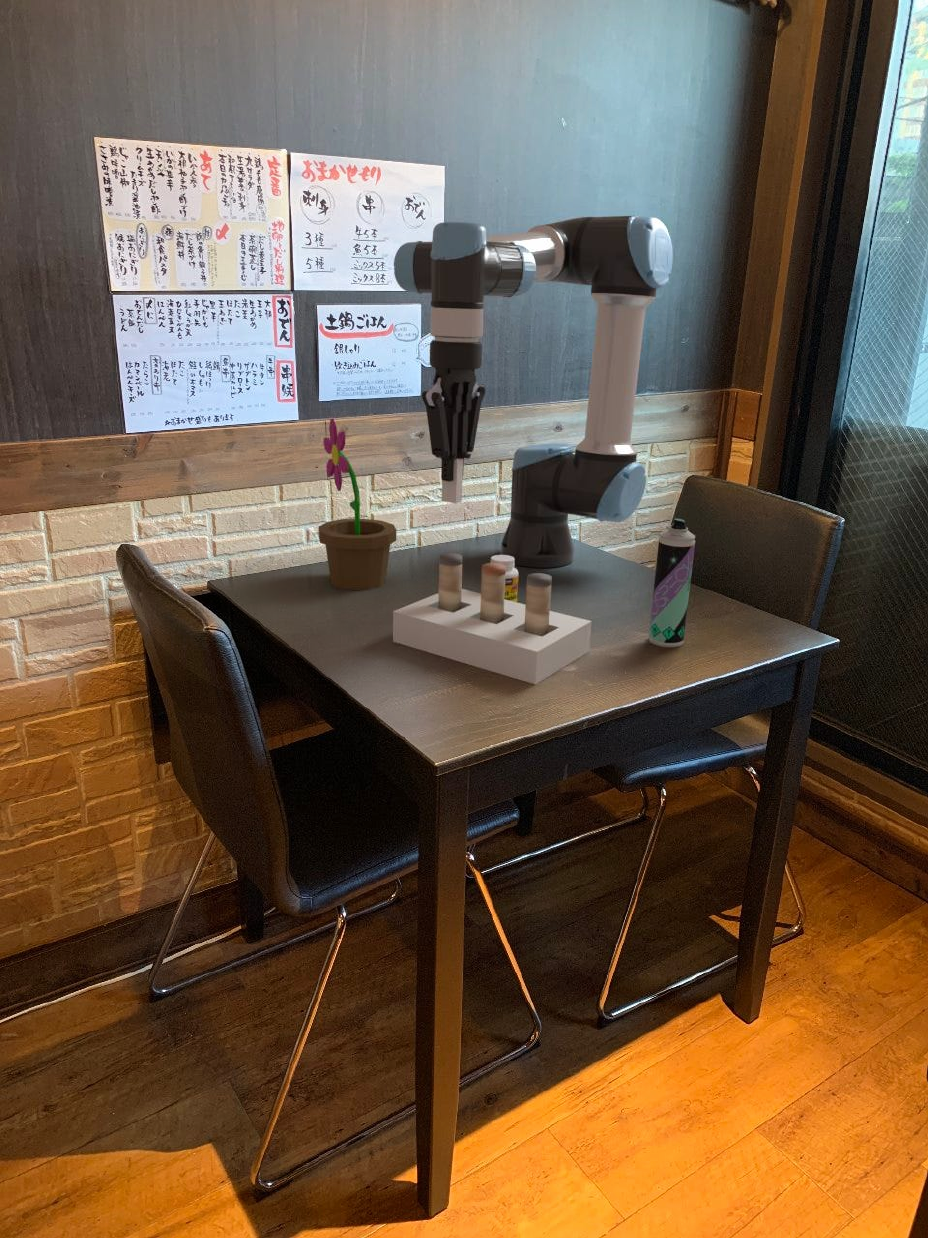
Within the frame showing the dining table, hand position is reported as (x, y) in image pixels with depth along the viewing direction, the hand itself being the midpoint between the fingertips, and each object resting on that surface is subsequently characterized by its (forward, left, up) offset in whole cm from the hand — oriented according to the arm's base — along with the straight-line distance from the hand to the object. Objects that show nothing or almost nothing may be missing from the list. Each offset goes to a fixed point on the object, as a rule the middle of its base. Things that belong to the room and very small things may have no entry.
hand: (451, 501), depth 141 cm
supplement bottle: (-13, +1, -22) cm, 26 cm away
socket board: (0, +8, -22) cm, 23 cm away
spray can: (-20, +29, -22) cm, 41 cm away
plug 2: (0, +8, -18) cm, 20 cm away
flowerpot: (-12, -29, -22) cm, 39 cm away
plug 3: (0, +16, -18) cm, 24 cm away
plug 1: (0, 0, -18) cm, 18 cm away
